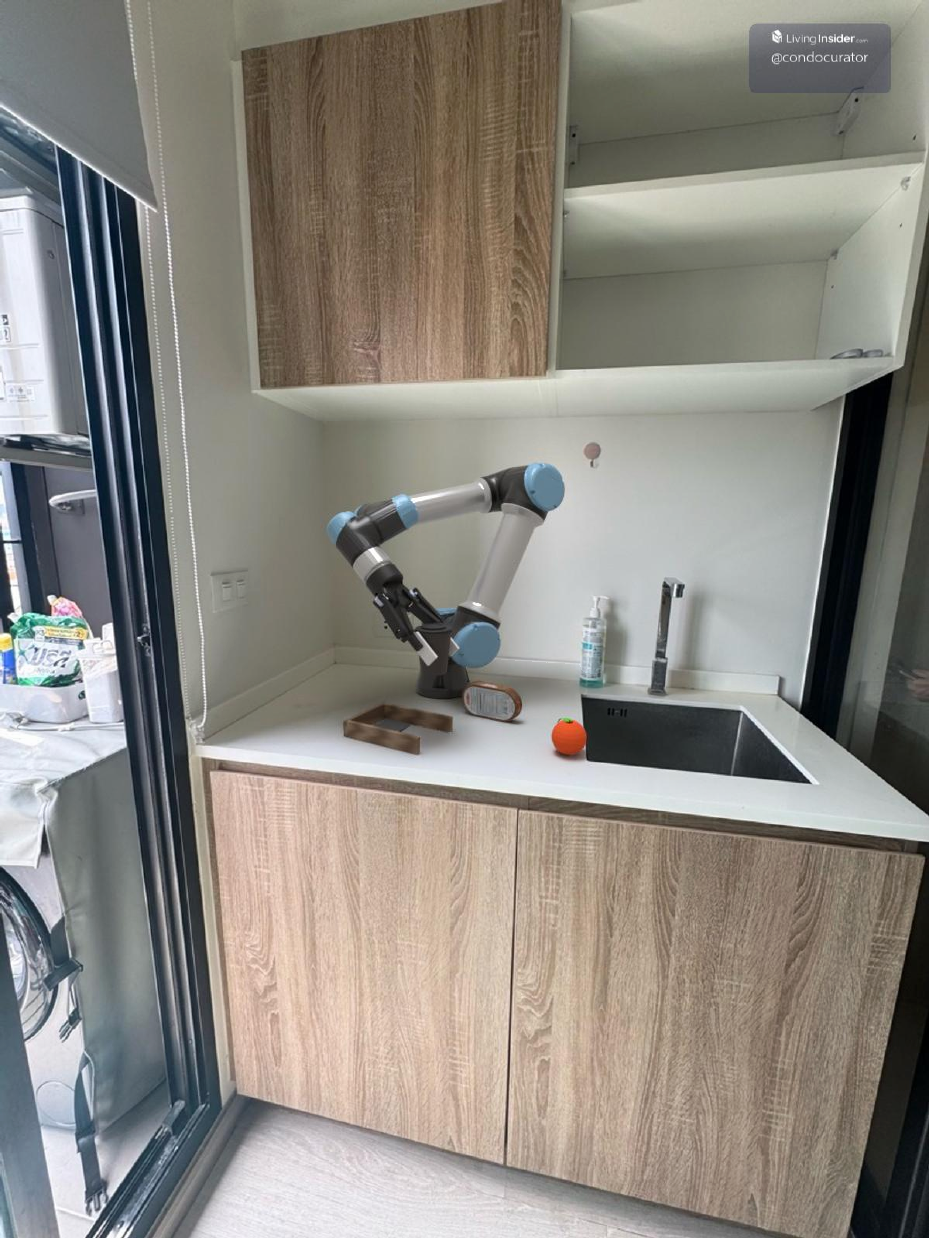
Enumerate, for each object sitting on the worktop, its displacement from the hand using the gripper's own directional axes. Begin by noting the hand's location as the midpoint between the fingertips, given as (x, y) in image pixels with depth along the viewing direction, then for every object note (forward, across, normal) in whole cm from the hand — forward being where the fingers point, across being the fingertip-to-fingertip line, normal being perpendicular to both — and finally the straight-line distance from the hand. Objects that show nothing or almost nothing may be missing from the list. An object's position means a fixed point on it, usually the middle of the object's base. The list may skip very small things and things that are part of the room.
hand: (444, 656), depth 107 cm
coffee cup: (+1, 0, -4) cm, 5 cm away
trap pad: (+2, +1, -24) cm, 24 cm away
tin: (+15, -18, -12) cm, 26 cm away
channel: (+5, +1, -21) cm, 22 cm away
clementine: (+30, -8, +4) cm, 31 cm away
